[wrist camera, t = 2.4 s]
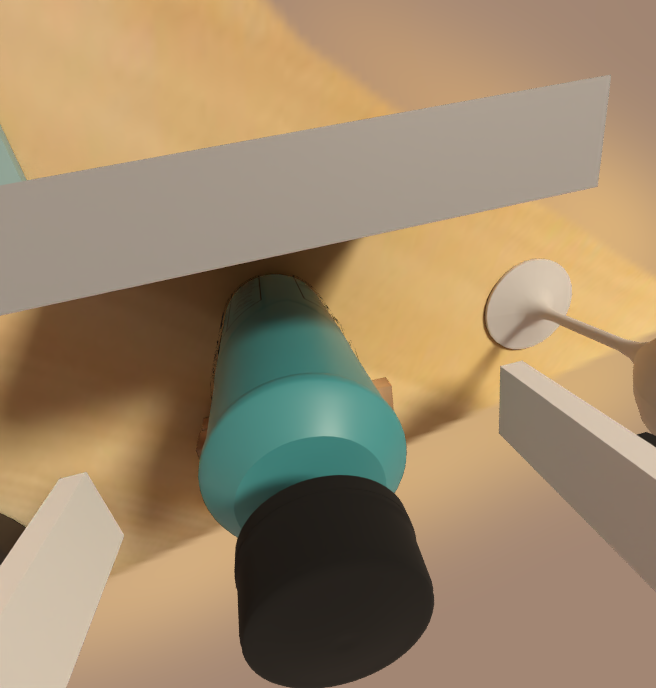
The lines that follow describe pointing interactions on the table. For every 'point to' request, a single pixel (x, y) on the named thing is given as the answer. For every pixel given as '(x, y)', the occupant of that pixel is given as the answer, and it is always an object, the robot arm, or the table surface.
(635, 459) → the robot arm
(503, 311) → the wineglass
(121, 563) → the table surface
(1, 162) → the mat
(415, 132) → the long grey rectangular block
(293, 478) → the beverage bottle
